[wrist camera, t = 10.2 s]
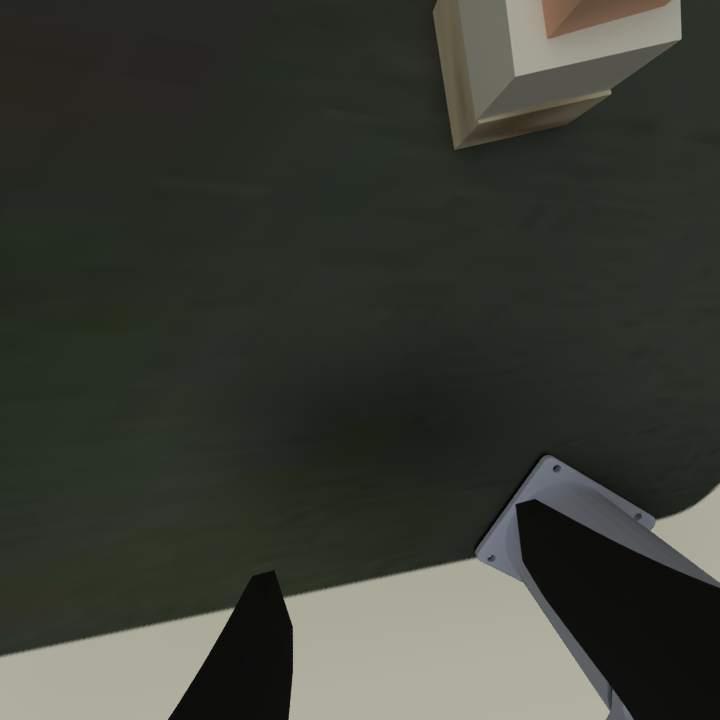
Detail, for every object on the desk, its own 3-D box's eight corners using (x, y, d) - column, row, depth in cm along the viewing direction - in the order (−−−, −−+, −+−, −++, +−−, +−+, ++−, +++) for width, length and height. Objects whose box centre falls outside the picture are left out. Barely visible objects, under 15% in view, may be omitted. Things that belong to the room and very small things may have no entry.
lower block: (549, -8, 17) (600, -75, 14) (562, 127, 18) (611, 94, 15) (431, 16, 17) (454, -46, 14) (452, 152, 18) (478, 123, 15)
